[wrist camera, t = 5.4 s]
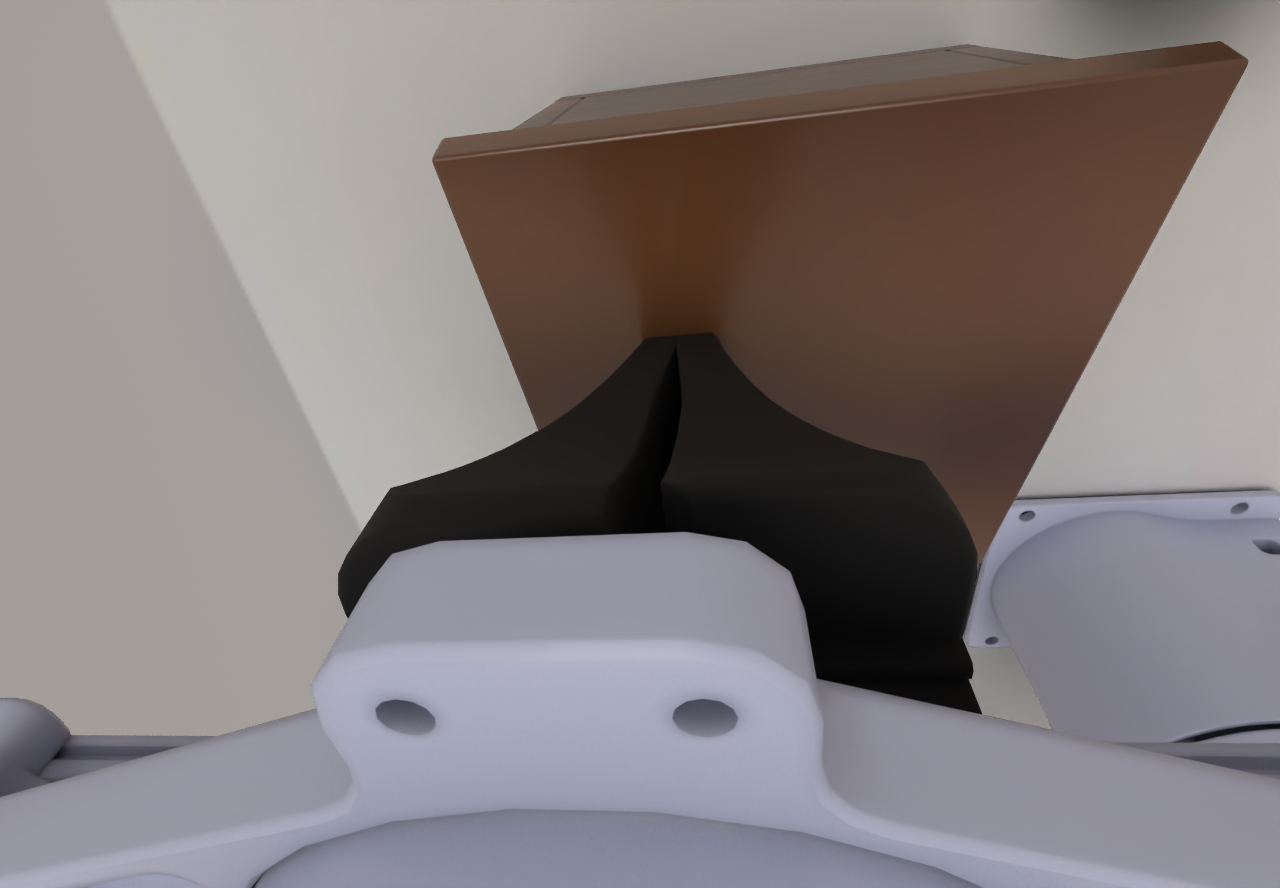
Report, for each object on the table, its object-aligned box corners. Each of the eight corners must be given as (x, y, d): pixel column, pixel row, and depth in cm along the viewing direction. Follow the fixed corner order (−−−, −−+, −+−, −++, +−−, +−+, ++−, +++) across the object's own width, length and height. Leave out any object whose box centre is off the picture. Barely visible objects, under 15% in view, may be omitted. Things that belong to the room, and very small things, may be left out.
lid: (441, 136, 10) (428, 158, 9) (1223, 38, 8) (1253, 59, 8) (596, 554, 19) (594, 575, 19) (973, 542, 18) (980, 565, 17)
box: (560, 97, 17) (505, 131, 13) (969, 43, 16) (1082, 59, 11) (618, 445, 24) (597, 555, 19) (914, 429, 22) (972, 543, 18)
